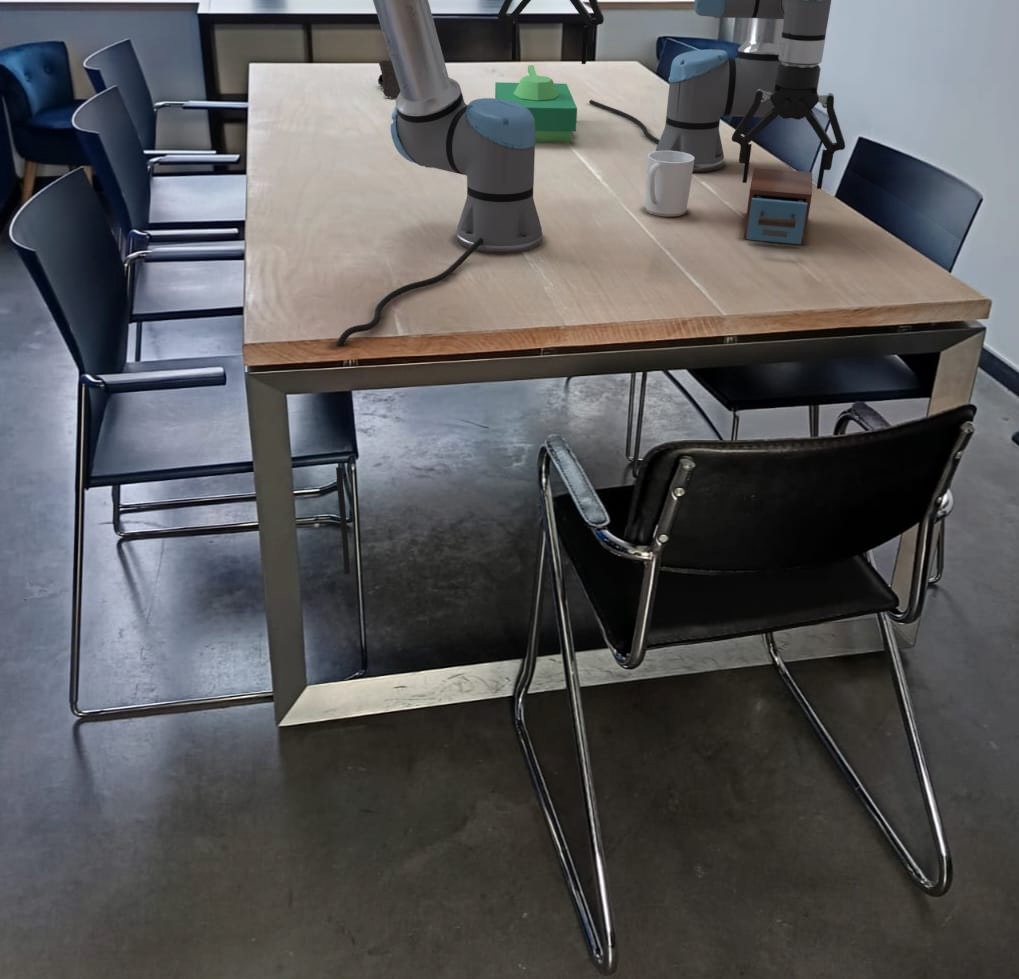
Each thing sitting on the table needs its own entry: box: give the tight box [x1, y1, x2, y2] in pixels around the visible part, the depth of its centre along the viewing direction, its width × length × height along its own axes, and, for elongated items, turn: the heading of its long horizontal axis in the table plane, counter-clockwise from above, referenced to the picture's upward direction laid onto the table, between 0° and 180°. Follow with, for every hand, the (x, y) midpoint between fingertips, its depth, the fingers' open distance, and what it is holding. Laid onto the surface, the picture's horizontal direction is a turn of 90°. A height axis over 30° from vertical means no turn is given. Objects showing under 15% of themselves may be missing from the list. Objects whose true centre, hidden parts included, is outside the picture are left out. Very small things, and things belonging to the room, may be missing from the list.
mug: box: [644, 150, 694, 218], centre depth 209 cm, size 11×9×10 cm
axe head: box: [377, 59, 401, 99], centre depth 299 cm, size 18×8×15 cm
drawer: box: [745, 195, 807, 245], centre depth 197 cm, size 19×10×7 cm, turn 166°
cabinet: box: [742, 167, 813, 245], centre depth 202 cm, size 15×11×9 cm
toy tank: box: [494, 64, 578, 144], centre depth 264 cm, size 18×12×35 cm
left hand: (549, 61), depth 213 cm, fingers open, 13 cm apart
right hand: (781, 184), depth 204 cm, fingers open, 13 cm apart
